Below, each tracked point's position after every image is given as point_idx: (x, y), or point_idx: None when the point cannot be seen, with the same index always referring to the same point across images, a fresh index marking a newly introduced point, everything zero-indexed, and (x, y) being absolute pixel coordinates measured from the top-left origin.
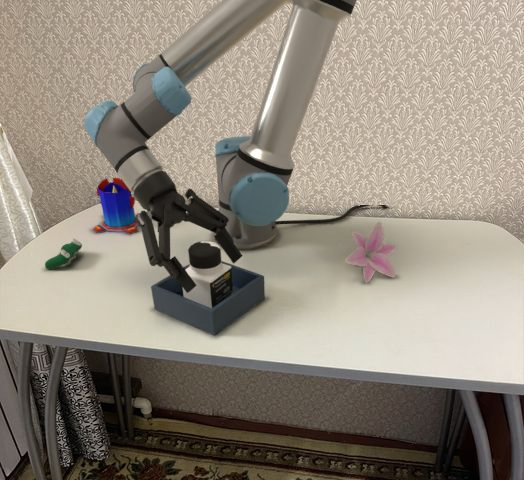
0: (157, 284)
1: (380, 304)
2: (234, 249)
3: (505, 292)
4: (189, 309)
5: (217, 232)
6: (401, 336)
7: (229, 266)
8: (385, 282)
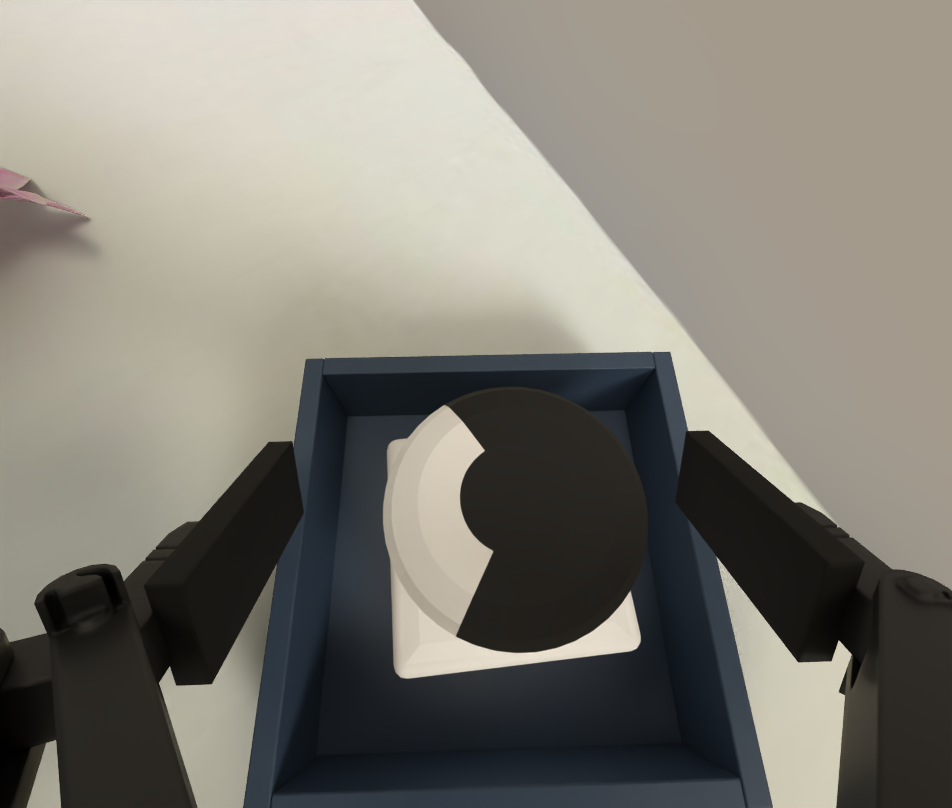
0: (727, 787)
1: (201, 150)
2: (270, 471)
3: (31, 2)
4: None
5: (162, 667)
6: (323, 76)
7: (401, 442)
8: (66, 183)
